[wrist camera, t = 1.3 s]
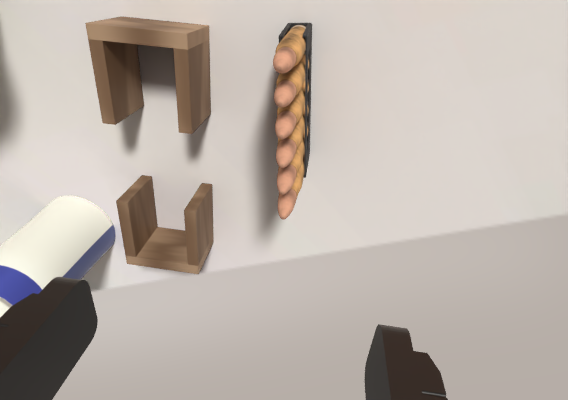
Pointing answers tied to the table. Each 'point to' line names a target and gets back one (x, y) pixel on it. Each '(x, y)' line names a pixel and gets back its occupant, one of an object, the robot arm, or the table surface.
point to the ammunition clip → (292, 111)
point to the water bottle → (53, 248)
